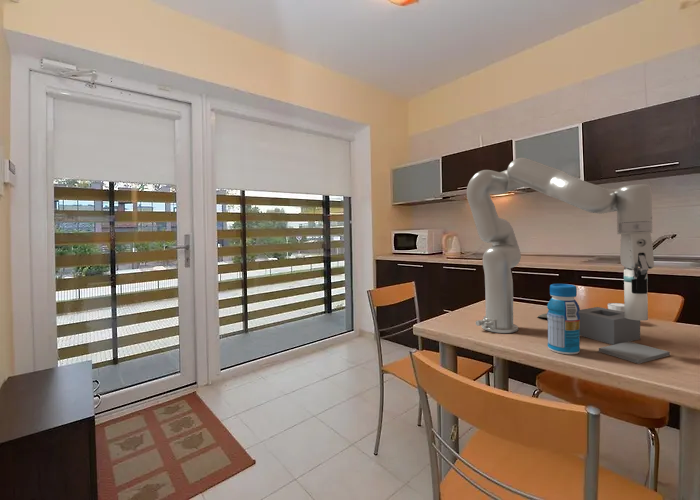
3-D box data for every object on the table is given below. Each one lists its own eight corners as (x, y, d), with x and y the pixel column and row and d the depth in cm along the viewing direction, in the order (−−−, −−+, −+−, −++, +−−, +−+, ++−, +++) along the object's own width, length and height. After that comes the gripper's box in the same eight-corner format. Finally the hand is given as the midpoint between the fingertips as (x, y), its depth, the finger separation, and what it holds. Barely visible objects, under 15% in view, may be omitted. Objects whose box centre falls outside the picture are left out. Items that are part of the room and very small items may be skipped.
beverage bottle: (544, 351, 97) (544, 286, 96) (549, 343, 103) (548, 282, 102) (579, 357, 91) (578, 288, 90) (581, 348, 98) (581, 284, 97)
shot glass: (628, 321, 124) (628, 303, 123) (632, 326, 118) (632, 307, 118) (606, 319, 127) (606, 302, 127) (608, 323, 122) (608, 305, 121)
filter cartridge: (641, 321, 89) (640, 271, 88) (620, 317, 93) (619, 270, 93) (652, 319, 90) (651, 270, 90) (631, 315, 95) (630, 268, 95)
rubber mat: (638, 363, 86) (638, 360, 86) (598, 351, 95) (598, 348, 95) (669, 355, 90) (669, 351, 90) (628, 344, 100) (628, 341, 100)
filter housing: (613, 345, 100) (614, 319, 99) (572, 333, 112) (572, 311, 112) (640, 339, 104) (640, 314, 104) (597, 328, 116) (597, 306, 116)
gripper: (665, 227, 82) (666, 297, 82) (639, 228, 97) (640, 287, 98) (628, 229, 85) (629, 296, 86) (608, 229, 100) (609, 286, 101)
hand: (635, 291), depth 92 cm, fingers closed on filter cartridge, 5 cm apart
